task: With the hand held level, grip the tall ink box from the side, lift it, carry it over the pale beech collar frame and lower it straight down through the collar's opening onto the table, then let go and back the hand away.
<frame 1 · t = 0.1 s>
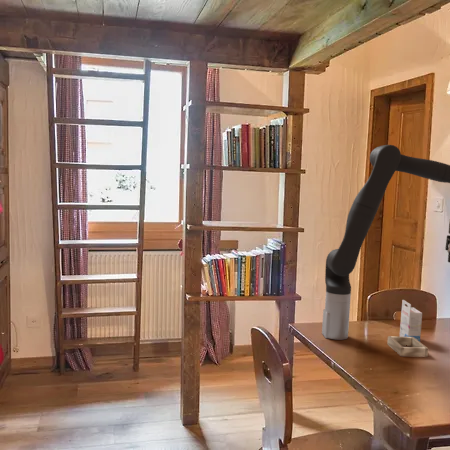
ink box: (409, 340, 192), on the table
collar: (406, 350, 180), on the table
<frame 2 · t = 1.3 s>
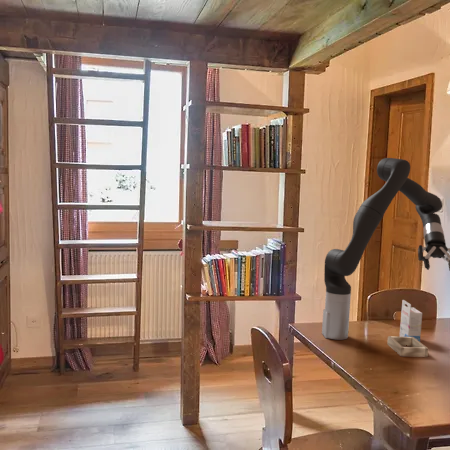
hand: (439, 269, 195), 27 cm above the table, tool tilted 45°, fingers open, 8 cm apart
nothing on the table moved.
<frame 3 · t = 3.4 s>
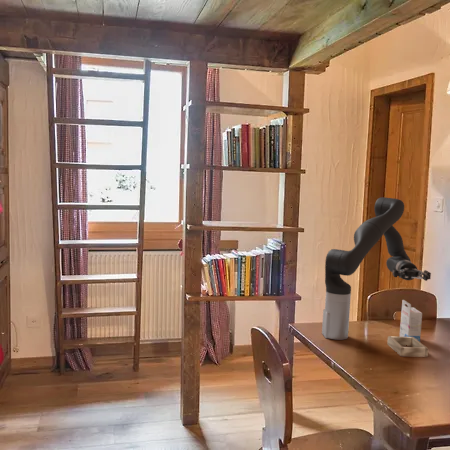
hand: (415, 277, 200), 22 cm above the table, tool horizontal, fingers open, 8 cm apart
nothing on the table moved.
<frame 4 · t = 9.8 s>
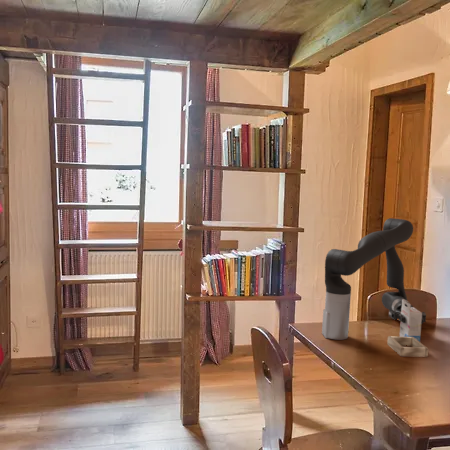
hand: (412, 321, 189), 8 cm above the table, tool horizontal, fingers closed on ink box, 5 cm apart
ink box: (409, 340, 192), on the table, touching gripper
everything else where it was.
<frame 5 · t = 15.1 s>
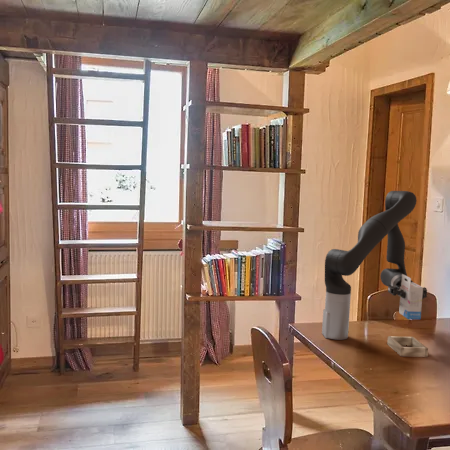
hand: (413, 296, 178), 20 cm above the table, tool horizontal, fingers closed on ink box, 5 cm apart
ink box: (409, 316, 182), point 11 cm above the table, touching gripper
everything else where it was.
when the fingers open (9 cm above the table, at t = 20.4 s): ink box drops 1 cm, resting in collar.
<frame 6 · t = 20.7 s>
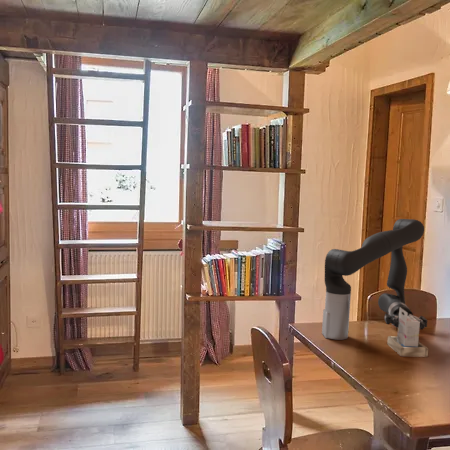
hand: (410, 325, 177), 10 cm above the table, tool horizontal, fingers open, 8 cm apart
ink box: (406, 350, 180), resting in collar
everything else where it was.
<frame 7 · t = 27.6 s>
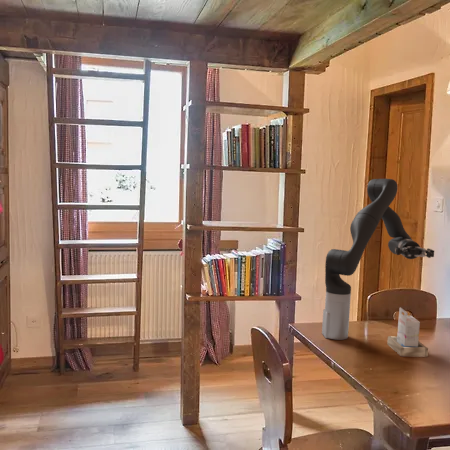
hand: (418, 254, 195), 32 cm above the table, tool horizontal, fingers open, 8 cm apart
nothing on the table moved.
at the end: ink box 0.1 cm off-centre on the collar, point 0.0 cm above the collar's base; ink box tilted 0°; the gripper is holding nothing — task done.
